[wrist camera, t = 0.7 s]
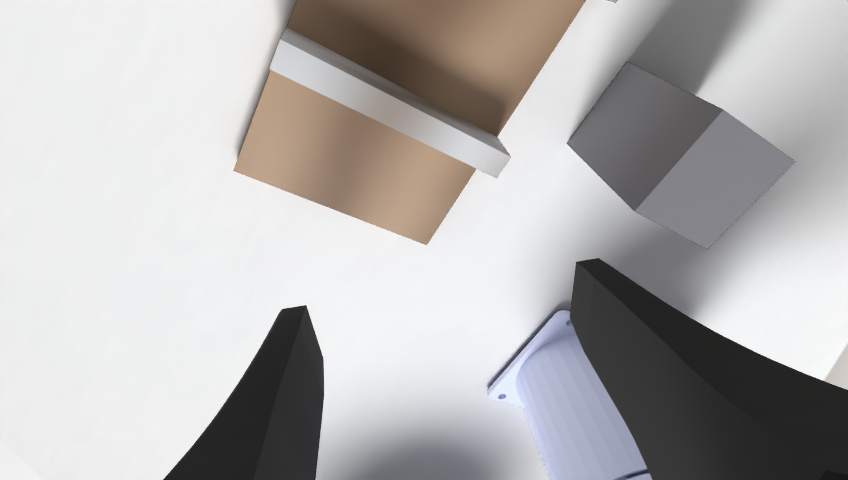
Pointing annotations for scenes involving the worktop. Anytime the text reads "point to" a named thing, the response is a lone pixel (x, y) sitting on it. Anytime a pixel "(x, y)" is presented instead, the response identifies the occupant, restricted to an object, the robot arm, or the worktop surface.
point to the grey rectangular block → (676, 155)
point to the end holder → (396, 102)
